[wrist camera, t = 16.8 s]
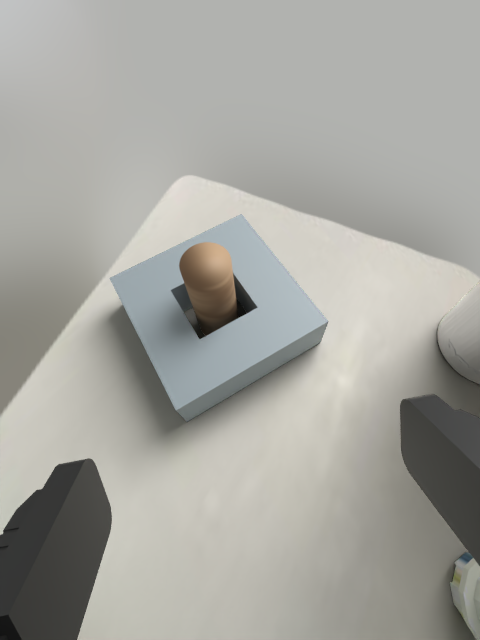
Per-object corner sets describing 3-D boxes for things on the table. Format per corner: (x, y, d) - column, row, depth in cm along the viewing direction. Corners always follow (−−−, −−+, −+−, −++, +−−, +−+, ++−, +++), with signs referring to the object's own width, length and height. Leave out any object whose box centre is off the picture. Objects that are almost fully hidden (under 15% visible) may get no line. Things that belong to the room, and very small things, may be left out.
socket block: (243, 242, 44) (241, 213, 40) (320, 342, 37) (328, 321, 33) (125, 302, 41) (109, 278, 37) (186, 422, 34) (175, 410, 30)
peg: (226, 298, 41) (215, 234, 31) (246, 327, 39) (241, 269, 29) (192, 316, 40) (170, 256, 30) (211, 346, 38) (193, 294, 28)
